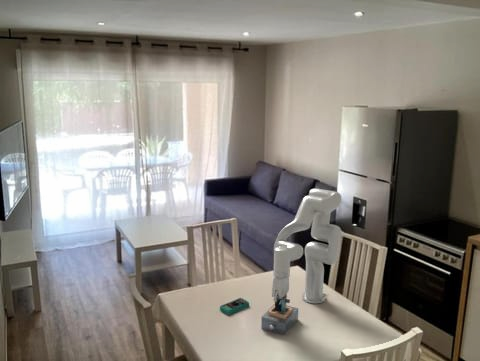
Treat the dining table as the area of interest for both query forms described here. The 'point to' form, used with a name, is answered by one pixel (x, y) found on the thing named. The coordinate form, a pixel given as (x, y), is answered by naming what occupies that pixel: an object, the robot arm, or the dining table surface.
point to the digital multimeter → (234, 306)
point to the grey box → (279, 320)
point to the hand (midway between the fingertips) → (280, 308)
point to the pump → (283, 303)
